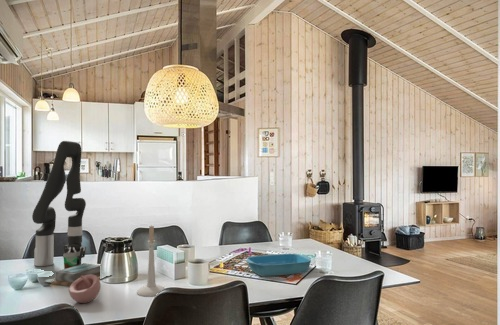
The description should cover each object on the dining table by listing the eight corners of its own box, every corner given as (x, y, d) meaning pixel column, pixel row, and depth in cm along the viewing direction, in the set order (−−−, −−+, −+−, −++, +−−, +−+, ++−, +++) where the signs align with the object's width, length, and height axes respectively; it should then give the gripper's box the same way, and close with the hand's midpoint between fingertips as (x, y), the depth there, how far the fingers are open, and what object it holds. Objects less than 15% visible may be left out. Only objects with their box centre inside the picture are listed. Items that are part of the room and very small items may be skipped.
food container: (72, 272, 203) (72, 254, 203) (62, 272, 204) (62, 253, 204) (87, 266, 215) (87, 249, 215) (77, 266, 216) (77, 248, 216)
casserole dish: (299, 263, 223) (299, 251, 223) (319, 273, 202) (319, 259, 202) (240, 269, 210) (240, 256, 210) (254, 280, 189) (254, 266, 190)
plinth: (44, 282, 185) (44, 271, 185) (79, 271, 206) (79, 261, 206) (79, 287, 177) (79, 276, 177) (111, 275, 198) (112, 264, 198)
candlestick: (138, 298, 163) (138, 228, 164) (134, 289, 175) (135, 224, 175) (168, 294, 168) (168, 226, 169) (162, 286, 180) (163, 222, 180)
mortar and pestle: (62, 305, 155) (62, 276, 155) (84, 295, 166) (84, 269, 166) (85, 308, 151) (85, 279, 151) (106, 299, 162) (106, 272, 162)
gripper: (59, 234, 209) (59, 265, 209) (79, 236, 204) (79, 268, 204) (70, 232, 216) (69, 262, 216) (90, 234, 211) (89, 264, 211)
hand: (74, 264), depth 210 cm, fingers closed on food container, 5 cm apart
